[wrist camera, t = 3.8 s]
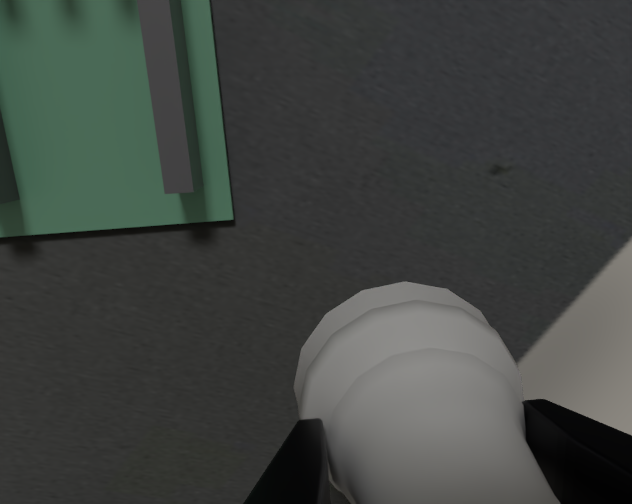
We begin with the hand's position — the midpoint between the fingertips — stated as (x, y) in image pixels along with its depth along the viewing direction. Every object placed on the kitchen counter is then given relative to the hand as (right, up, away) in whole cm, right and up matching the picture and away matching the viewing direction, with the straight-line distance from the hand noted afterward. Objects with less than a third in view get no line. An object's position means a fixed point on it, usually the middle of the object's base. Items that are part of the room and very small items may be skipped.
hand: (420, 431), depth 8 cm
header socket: (-11, +10, +9) cm, 17 cm away
